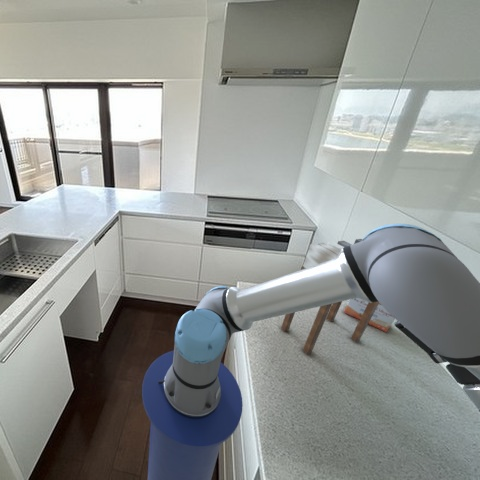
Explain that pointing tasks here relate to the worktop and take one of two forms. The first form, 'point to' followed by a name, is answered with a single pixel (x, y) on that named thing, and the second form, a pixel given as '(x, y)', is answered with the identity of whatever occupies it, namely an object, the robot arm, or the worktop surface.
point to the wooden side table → (314, 257)
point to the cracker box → (379, 318)
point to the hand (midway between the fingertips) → (405, 284)
